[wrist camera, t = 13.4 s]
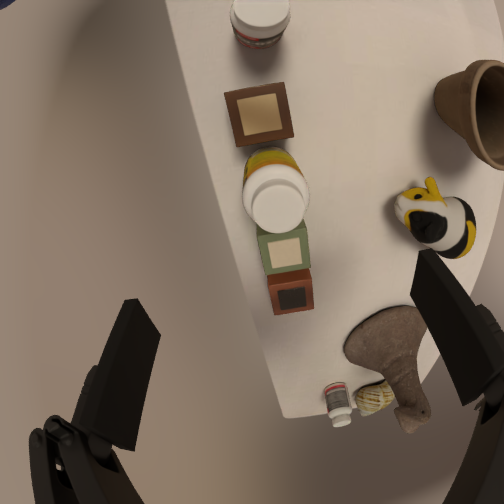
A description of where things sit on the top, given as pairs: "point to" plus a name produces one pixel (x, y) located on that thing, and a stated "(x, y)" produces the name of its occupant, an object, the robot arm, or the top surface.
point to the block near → (259, 114)
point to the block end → (291, 291)
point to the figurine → (437, 220)
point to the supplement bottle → (274, 190)
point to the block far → (284, 249)
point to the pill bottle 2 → (338, 404)
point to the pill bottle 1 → (259, 21)
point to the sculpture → (394, 359)
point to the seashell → (374, 398)
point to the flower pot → (476, 108)
